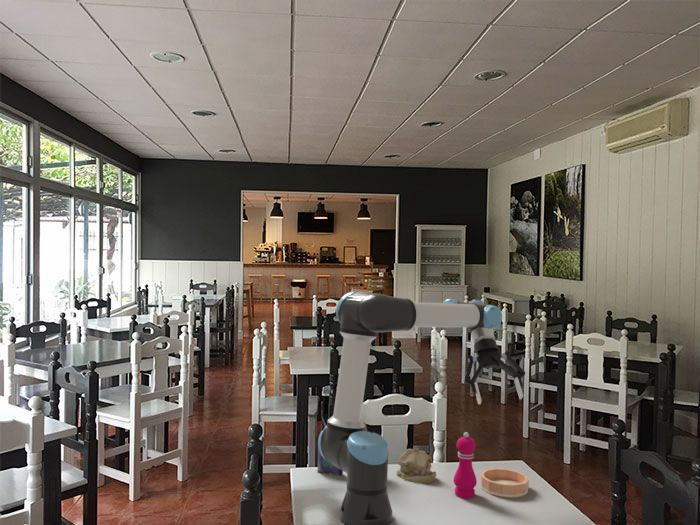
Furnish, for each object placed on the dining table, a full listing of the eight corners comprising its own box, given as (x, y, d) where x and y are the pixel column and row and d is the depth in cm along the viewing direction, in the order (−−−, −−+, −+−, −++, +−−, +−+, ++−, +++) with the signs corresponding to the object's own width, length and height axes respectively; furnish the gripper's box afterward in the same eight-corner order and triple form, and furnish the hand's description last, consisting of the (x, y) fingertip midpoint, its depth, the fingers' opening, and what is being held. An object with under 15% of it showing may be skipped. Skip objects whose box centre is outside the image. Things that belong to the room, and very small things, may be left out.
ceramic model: (390, 477, 207) (391, 448, 206) (404, 467, 216) (405, 440, 216) (428, 486, 199) (429, 456, 199) (441, 476, 209) (442, 447, 209)
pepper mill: (450, 496, 191) (452, 433, 191) (456, 488, 197) (458, 427, 197) (473, 500, 188) (474, 437, 188) (478, 492, 194) (480, 431, 194)
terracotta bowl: (473, 489, 197) (473, 477, 197) (491, 476, 209) (491, 465, 209) (518, 501, 188) (518, 488, 188) (534, 487, 200) (534, 475, 200)
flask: (316, 472, 209) (317, 441, 209) (319, 469, 212) (320, 439, 212) (341, 476, 206) (342, 444, 206) (344, 473, 209) (345, 442, 209)
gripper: (518, 343, 211) (536, 400, 198) (447, 352, 210) (461, 409, 197) (522, 332, 205) (541, 390, 192) (449, 341, 204) (463, 400, 191)
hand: (500, 400), depth 194 cm, fingers open, 13 cm apart
